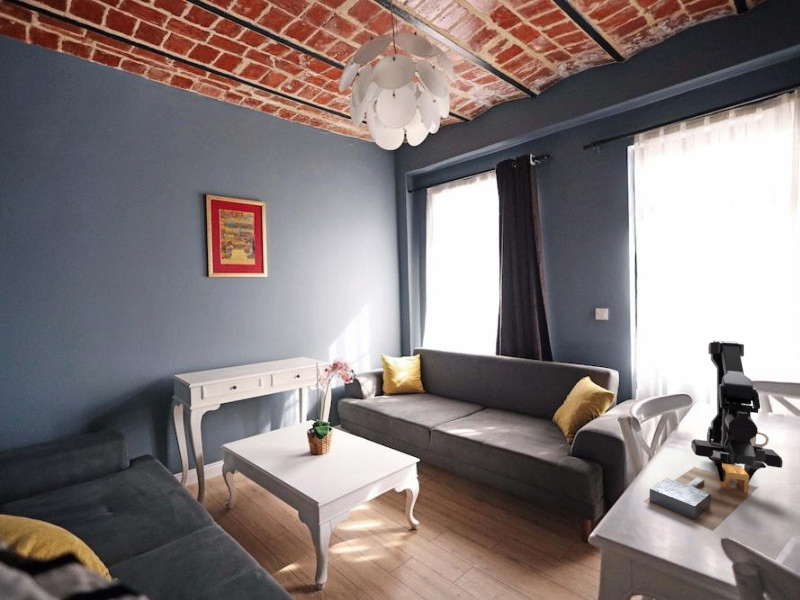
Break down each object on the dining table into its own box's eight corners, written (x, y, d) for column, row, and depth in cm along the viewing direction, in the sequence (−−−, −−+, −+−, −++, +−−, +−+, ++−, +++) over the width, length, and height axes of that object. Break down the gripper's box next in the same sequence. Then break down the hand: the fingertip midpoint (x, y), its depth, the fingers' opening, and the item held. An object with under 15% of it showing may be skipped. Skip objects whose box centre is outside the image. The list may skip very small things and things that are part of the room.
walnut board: (694, 470, 125) (694, 466, 125) (757, 491, 113) (757, 487, 113) (643, 505, 106) (643, 501, 106) (712, 535, 94) (713, 530, 94)
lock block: (718, 479, 117) (719, 462, 116) (740, 483, 115) (741, 466, 114) (725, 489, 111) (725, 471, 111) (748, 493, 109) (749, 475, 109)
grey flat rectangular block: (684, 477, 119) (685, 465, 118) (727, 492, 110) (727, 479, 110) (649, 501, 106) (649, 488, 106) (694, 520, 98) (695, 506, 98)
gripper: (701, 432, 109) (699, 489, 110) (793, 444, 101) (790, 505, 102) (691, 419, 119) (689, 471, 120) (774, 428, 111) (772, 484, 112)
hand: (733, 482), depth 113 cm, fingers closed on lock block, 5 cm apart
